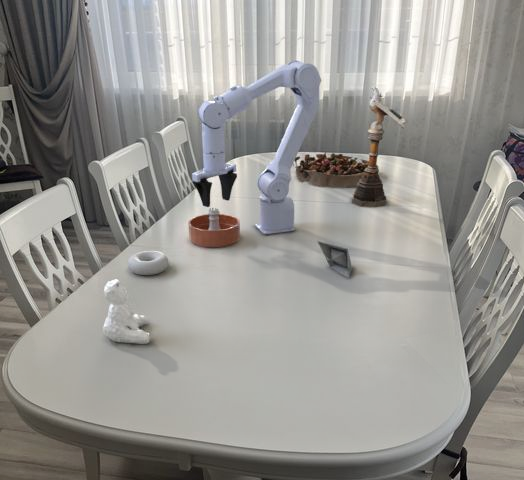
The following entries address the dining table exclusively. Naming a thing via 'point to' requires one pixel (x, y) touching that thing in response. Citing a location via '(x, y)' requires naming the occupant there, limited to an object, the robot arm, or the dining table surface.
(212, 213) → the rook chess piece
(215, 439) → the dining table surface
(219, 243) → the bowl
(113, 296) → the sitting furry creature
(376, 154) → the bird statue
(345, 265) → the grey rectangular frame
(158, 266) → the donut
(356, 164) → the food dish
